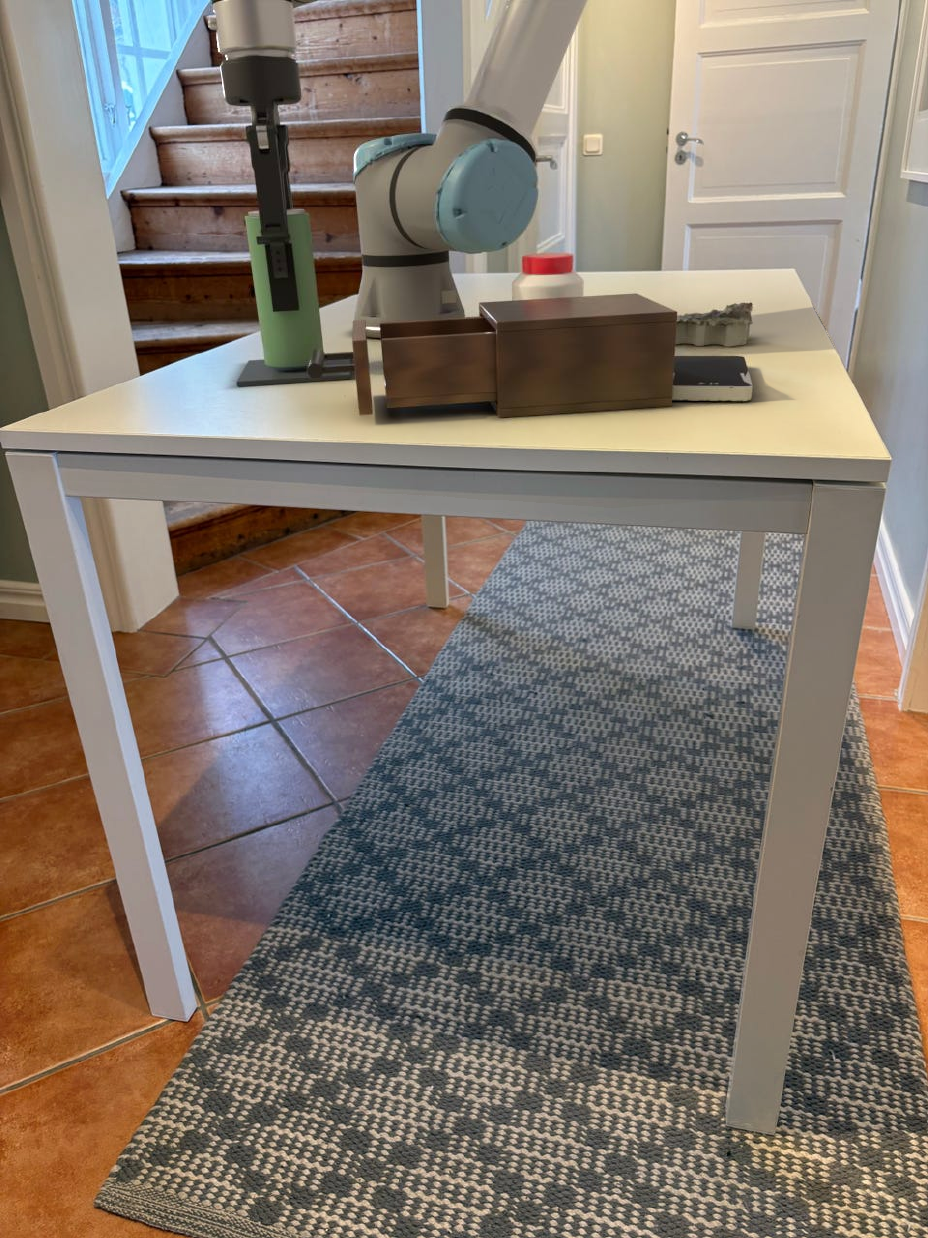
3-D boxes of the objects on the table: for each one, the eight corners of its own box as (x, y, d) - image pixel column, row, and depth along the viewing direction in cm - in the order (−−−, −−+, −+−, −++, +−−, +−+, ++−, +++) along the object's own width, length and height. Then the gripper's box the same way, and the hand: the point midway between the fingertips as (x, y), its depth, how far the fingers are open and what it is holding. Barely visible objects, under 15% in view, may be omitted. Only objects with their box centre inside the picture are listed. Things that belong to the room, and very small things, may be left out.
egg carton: (753, 337, 108) (757, 301, 106) (743, 348, 102) (747, 311, 100) (665, 333, 112) (668, 299, 110) (651, 344, 106) (653, 308, 104)
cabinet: (498, 417, 79) (496, 322, 75) (481, 386, 90) (478, 302, 86) (671, 406, 80) (677, 311, 76) (633, 376, 91) (636, 293, 88)
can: (267, 357, 103) (247, 210, 96) (325, 354, 103) (309, 207, 97) (262, 368, 97) (240, 213, 90) (323, 365, 98) (306, 210, 91)
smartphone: (744, 355, 92) (753, 387, 79) (742, 368, 93) (751, 402, 80) (668, 355, 94) (665, 386, 81) (667, 368, 95) (664, 401, 82)
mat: (249, 364, 106) (248, 360, 106) (351, 358, 107) (350, 353, 106) (236, 386, 95) (236, 381, 95) (350, 379, 96) (349, 374, 96)
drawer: (310, 418, 78) (301, 343, 75) (316, 389, 88) (308, 322, 85) (523, 404, 79) (522, 330, 76) (504, 377, 89) (503, 311, 87)
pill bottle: (579, 368, 96) (581, 258, 91) (508, 368, 98) (506, 260, 93) (585, 354, 103) (587, 250, 98) (518, 354, 104) (517, 252, 99)
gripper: (232, 68, 96) (262, 296, 106) (204, 46, 78) (243, 321, 89) (302, 66, 96) (326, 292, 107) (290, 43, 79) (319, 316, 89)
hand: (288, 305), depth 98 cm, fingers closed on can, 7 cm apart
